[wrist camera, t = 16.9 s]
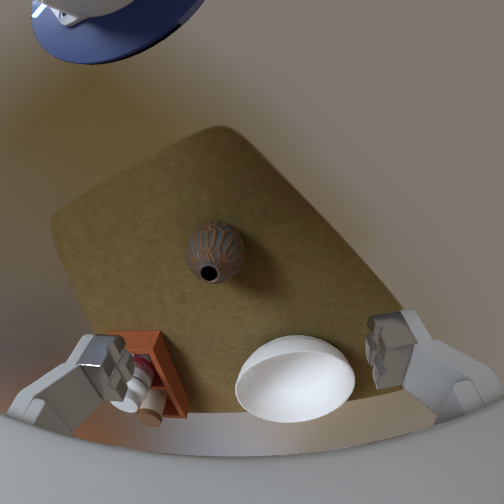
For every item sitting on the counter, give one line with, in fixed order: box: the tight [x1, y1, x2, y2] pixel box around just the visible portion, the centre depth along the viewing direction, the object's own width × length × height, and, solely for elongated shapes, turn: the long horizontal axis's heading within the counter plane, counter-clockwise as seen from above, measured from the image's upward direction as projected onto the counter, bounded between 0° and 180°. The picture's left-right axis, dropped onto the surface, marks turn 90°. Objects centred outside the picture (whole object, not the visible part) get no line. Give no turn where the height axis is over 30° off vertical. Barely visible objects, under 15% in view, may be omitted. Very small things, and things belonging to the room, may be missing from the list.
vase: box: [186, 221, 245, 284], centre depth 36 cm, size 7×7×9 cm
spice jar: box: [136, 390, 168, 427], centre depth 50 cm, size 5×5×8 cm
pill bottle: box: [111, 354, 156, 412], centre depth 44 cm, size 6×6×11 cm
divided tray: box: [107, 331, 190, 418], centre depth 50 cm, size 10×19×5 cm, turn 7°
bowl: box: [235, 335, 355, 423], centre depth 46 cm, size 18×18×7 cm
